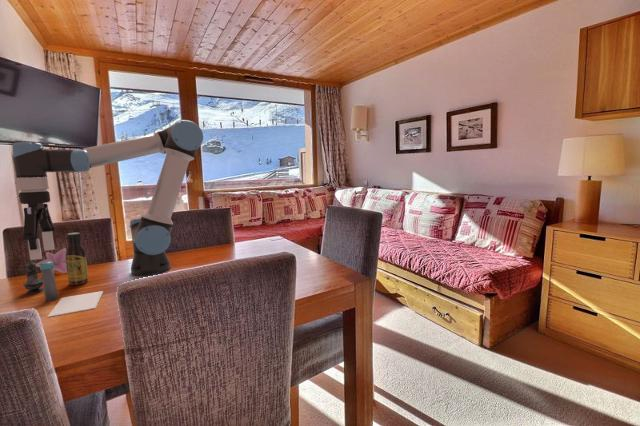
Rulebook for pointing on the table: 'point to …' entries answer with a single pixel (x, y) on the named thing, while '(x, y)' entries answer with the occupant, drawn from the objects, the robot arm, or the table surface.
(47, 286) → the marker
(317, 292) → the table surface
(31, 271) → the dark grey chess piece
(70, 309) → the paper
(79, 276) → the sauce bottle
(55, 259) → the lily
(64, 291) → the table surface
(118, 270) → the table surface
